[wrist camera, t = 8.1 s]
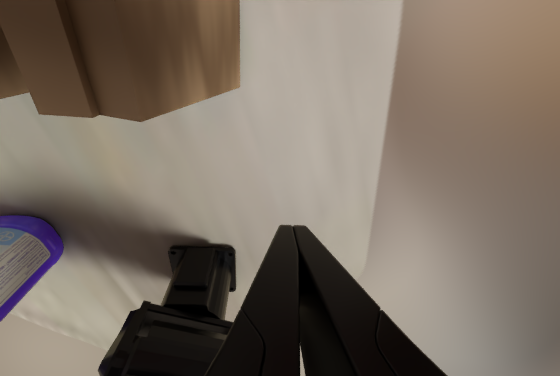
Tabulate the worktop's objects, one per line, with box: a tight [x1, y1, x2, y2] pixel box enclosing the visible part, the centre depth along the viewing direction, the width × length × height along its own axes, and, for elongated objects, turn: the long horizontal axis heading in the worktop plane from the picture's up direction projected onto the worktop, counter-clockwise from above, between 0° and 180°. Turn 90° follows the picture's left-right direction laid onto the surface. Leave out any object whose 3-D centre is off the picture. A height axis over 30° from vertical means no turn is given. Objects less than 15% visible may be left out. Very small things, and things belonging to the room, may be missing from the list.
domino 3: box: [65, 0, 240, 122], centre depth 11 cm, size 5×2×9 cm, turn 176°
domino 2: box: [0, 0, 100, 118], centre depth 11 cm, size 5×2×9 cm, turn 175°
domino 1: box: [0, 25, 29, 99], centre depth 11 cm, size 5×2×9 cm, turn 175°
